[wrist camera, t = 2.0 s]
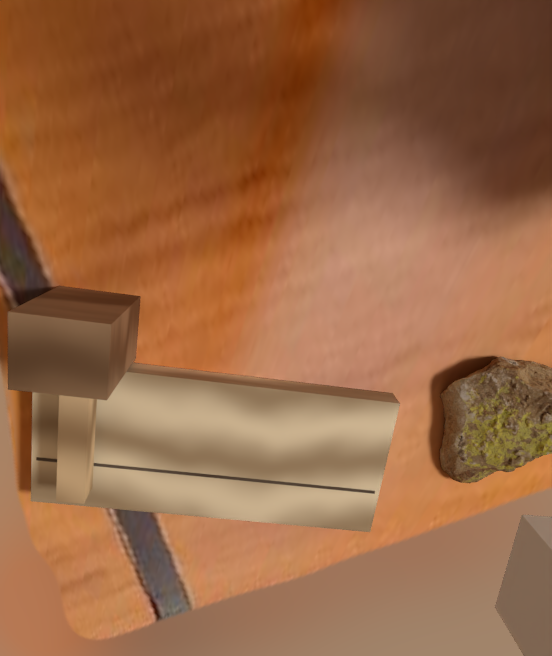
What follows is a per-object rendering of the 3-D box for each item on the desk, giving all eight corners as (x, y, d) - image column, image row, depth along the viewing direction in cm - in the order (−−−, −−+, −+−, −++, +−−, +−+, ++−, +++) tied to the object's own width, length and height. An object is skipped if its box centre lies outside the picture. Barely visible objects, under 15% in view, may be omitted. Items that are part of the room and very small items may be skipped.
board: (43, 352, 37) (32, 361, 35) (392, 393, 40) (400, 403, 38) (41, 486, 41) (30, 501, 39) (364, 516, 43) (370, 532, 41)
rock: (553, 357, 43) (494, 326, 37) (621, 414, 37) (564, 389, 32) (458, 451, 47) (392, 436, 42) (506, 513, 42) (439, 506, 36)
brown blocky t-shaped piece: (59, 285, 36) (7, 311, 28) (140, 296, 37) (111, 324, 29) (54, 461, 40) (8, 526, 32) (127, 469, 41) (99, 534, 33)
